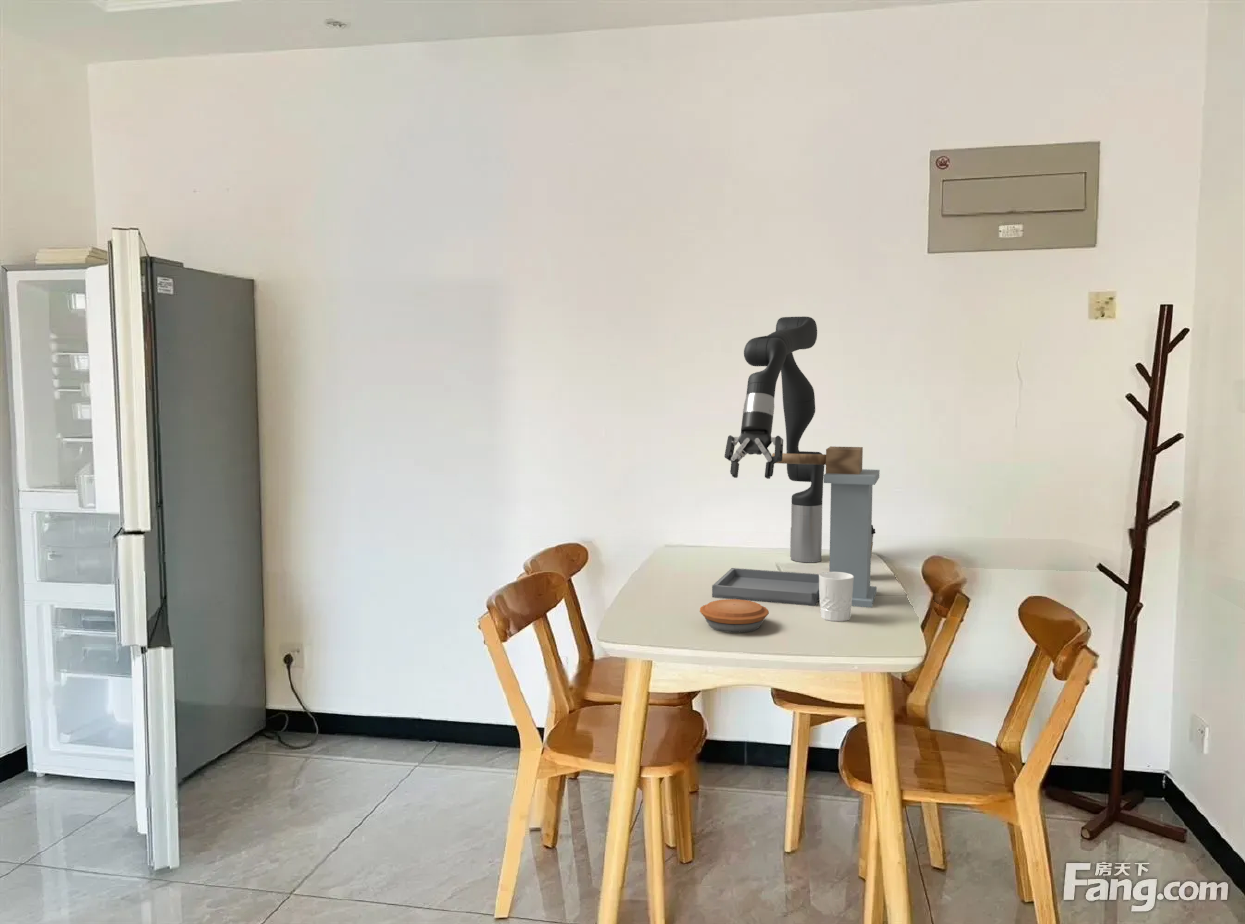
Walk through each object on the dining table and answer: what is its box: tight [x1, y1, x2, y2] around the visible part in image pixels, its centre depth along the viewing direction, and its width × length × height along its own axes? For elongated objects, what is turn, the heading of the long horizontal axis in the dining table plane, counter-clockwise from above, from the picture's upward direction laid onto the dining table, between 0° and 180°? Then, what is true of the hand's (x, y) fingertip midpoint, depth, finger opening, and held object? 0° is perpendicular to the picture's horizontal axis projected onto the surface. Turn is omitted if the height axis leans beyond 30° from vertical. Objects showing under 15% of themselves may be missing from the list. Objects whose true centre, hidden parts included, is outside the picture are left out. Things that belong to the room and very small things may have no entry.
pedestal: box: [823, 468, 880, 608], centre depth 219 cm, size 12×16×32 cm
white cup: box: [818, 571, 854, 622], centre depth 202 cm, size 8×8×10 cm
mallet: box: [771, 446, 864, 474], centre depth 220 cm, size 22×9×6 cm, turn 70°
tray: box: [711, 567, 820, 607], centre depth 227 cm, size 26×22×3 cm
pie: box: [699, 598, 770, 633], centre depth 196 cm, size 15×16×5 cm
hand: (750, 477), depth 213 cm, fingers open, 8 cm apart
